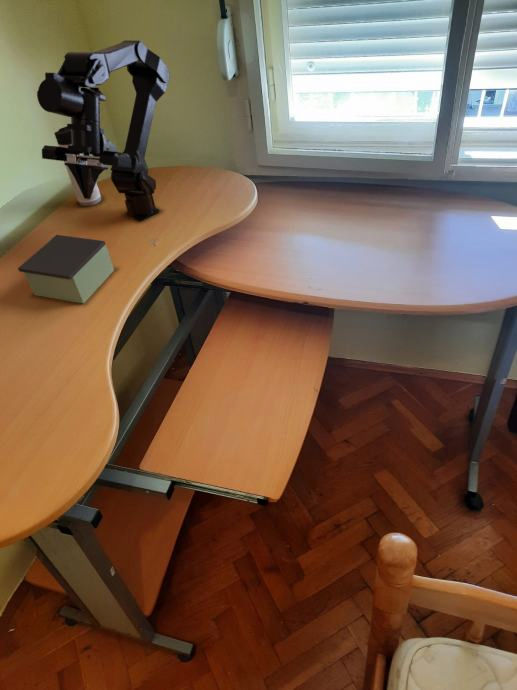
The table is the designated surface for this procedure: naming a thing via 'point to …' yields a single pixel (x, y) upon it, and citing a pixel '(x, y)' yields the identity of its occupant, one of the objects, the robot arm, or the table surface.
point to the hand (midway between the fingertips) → (87, 198)
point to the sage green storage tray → (74, 280)
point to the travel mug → (63, 141)
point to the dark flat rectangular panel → (62, 257)
